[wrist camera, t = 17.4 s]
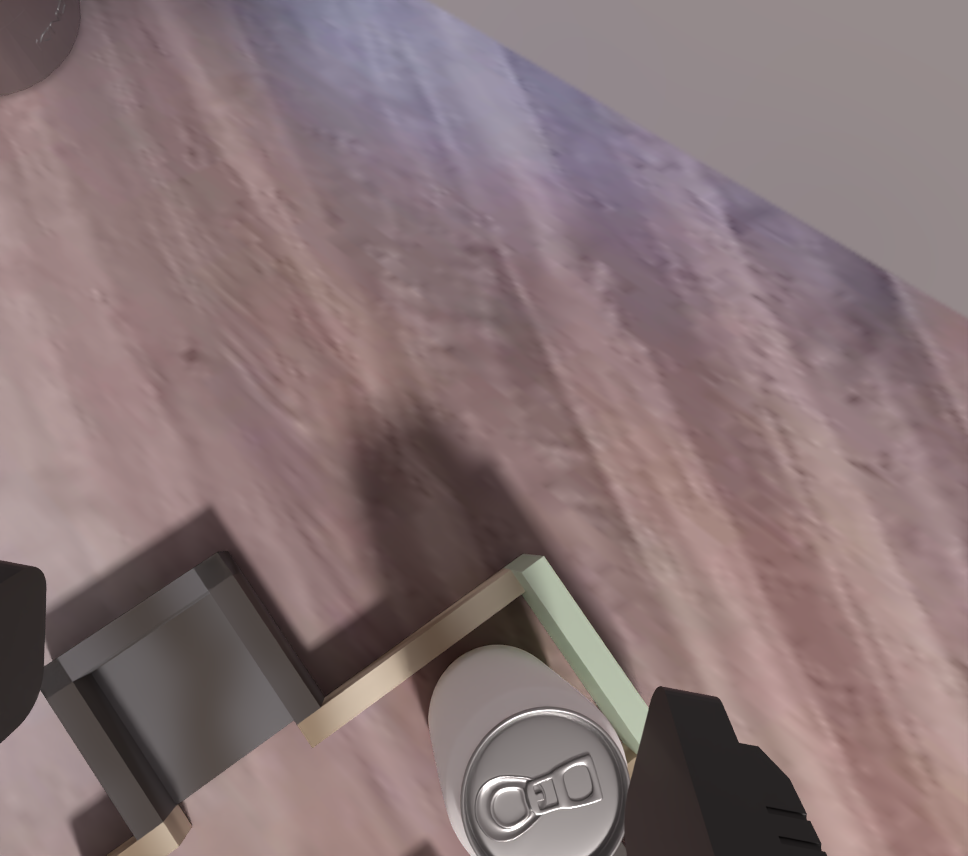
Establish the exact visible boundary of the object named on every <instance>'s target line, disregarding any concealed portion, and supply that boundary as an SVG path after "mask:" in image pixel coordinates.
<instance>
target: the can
mask: <svg viewBox="0 0 968 856" xmlns="http://www.w3.org/2000/svg"><path fill="white" fill-rule="evenodd" d="M428 723H429V731H430V737H431V742H432V747H433V752H434V757H435V762H436V766H437V771H438V776H439V780H440V785H441V789H442V794H443V798H444V802H445V806H446V810H447V813H448V816H449V819H450V822H451V825H452V827H453V829H454V831H455V833H456V835H457V837H458V838H459V840H460V842H461V843H462V845H463V846H464V848H465V849H466V850H467V851H468V853H469V854H470V855H471V856H613V855H614V853H615V852H616V850H617V848H618V847H619V845H620V843H621V841H622V839H623V837H624V819H625V806H626V799H627V793H628V788H629V784H630V776H629V772H628V767H627V761H626V757H625V753H624V750H623V747H622V744H621V742H620V739H619V737H618V735H617V733H616V732H615V730H614V728H613V727H612V725H611V724H610V722H609V721H608V719H607V718H606V717H605V716H604V714H603V713H602V712H601V711H600V710H599V709H598V708H597V707H596V706H595V705H594V704H593V703H592V702H591V701H590V700H588V699H587V698H586V697H585V696H584V695H583V694H581V693H580V692H579V691H578V690H577V689H575V688H574V687H573V686H572V685H570V684H569V683H568V682H567V681H566V680H564V679H563V678H562V677H561V676H559V675H558V674H557V673H556V672H554V671H553V670H552V669H551V668H549V667H548V666H547V665H546V664H544V663H543V662H542V661H540V660H539V659H538V658H536V657H535V656H533V655H532V654H530V653H528V652H526V651H524V650H522V649H519V648H516V647H513V646H508V645H487V646H482V647H478V648H476V649H473V650H471V651H469V652H467V653H465V654H463V655H462V656H460V657H459V658H457V659H456V660H455V661H454V662H453V663H452V664H450V666H449V667H448V668H447V669H446V670H445V671H444V673H443V674H442V675H441V677H440V679H439V680H438V682H437V684H436V686H435V689H434V691H433V694H432V697H431V701H430V706H429V714H428Z"/></svg>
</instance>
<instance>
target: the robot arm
mask: <svg viewBox="0 0 968 856" xmlns="http://www.w3.org/2000/svg"><path fill="white" fill-rule="evenodd" d="M79 22H80V7H79V0H0V96H5V95H9V94H12V93H15V92H18V91H22V90H25V89H27V88H29V87H31V86H33V85H34V84H36V83H38V82H40V81H42V80H43V79H45V78H46V77H47V76H48V75H50V74H51V73H52V72H53V71H54V70H55V69H57V68H58V67H59V66H60V64H61V63H62V62H63V60H64V59H65V58H66V56H67V55H68V54H69V52H70V51H71V48H72V46H73V44H74V42H75V39H76V37H77V34H78V28H79ZM45 615H46V580H45V576H44V574H43V572H42V571H41V570H40V569H39V568H37V567H33V566H28V565H22V564H17V563H12V562H7V561H1V560H0V743H1V742H2V741H3V740H5V739H6V738H7V737H8V736H9V735H10V734H11V733H12V732H13V731H14V730H15V729H16V728H18V726H19V725H20V724H21V723H22V722H23V721H24V720H25V718H26V717H27V716H28V714H29V713H30V711H31V709H32V708H33V706H34V704H35V702H36V699H37V697H38V694H39V692H40V689H41V685H42V680H43V672H44V644H45ZM806 815H807V814H806V811H805V809H804V807H803V805H802V803H801V801H800V799H799V797H798V795H797V793H796V791H795V789H794V787H793V785H792V783H791V781H790V779H789V778H788V777H787V776H786V775H785V774H784V773H783V772H782V771H781V770H780V768H779V767H778V766H777V765H776V764H775V763H774V762H773V761H772V760H771V759H770V758H769V757H768V756H767V755H766V754H765V753H764V752H763V751H762V750H761V749H760V748H759V747H758V746H752V745H747V744H742V743H739V742H738V740H737V737H736V735H735V732H734V730H733V728H732V725H731V723H730V721H729V718H728V716H727V713H726V711H725V709H724V706H723V704H722V702H721V700H720V699H719V698H718V697H715V696H709V695H704V694H699V693H693V692H688V691H683V690H677V689H672V688H667V687H662V686H659V687H658V688H657V689H656V690H655V692H654V694H653V696H652V699H651V702H650V705H649V709H648V713H647V717H646V721H645V725H644V729H643V733H642V737H641V741H640V745H639V749H638V753H637V756H636V760H635V764H634V768H633V772H632V776H631V780H630V784H629V788H628V793H627V799H626V806H625V819H624V836H625V847H626V853H627V856H827V854H826V852H822V851H821V842H820V840H819V838H818V836H817V834H816V832H815V830H814V828H813V826H812V824H811V822H810V821H807V819H806Z"/></svg>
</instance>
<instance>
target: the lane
mask: <svg viewBox="0 0 968 856" xmlns="http://www.w3.org/2000/svg"><path fill="white" fill-rule="evenodd" d="M530 555H531V554H530ZM524 592H525V590H524V588H523V587H522V586H521V584H520V583H519V581H518V580H517V578H516V577H515V575H514V574H513V572H512V571H511V570H510V569H506V568H503V569H501V570H500V571H498V572H497V573H496V574H494V575H493V576H492V577H490V578H489V579H487V580H486V581H485V582H483V583H482V584H480V585H479V586H478V587H476V588H475V589H474V590H472V591H471V592H469V593H468V594H467V595H465V596H464V597H463V598H461V599H460V600H458V601H457V602H456V603H454V604H453V605H451V606H450V607H449V608H447V609H446V610H445V611H443V612H442V613H440V614H439V615H438V616H436V617H435V618H434V619H432V620H431V621H429V622H428V623H427V624H425V625H424V626H422V627H421V628H420V629H418V630H417V631H416V632H414V633H413V634H411V635H410V636H409V637H407V638H406V639H405V640H403V641H402V642H400V643H399V644H398V645H396V646H395V647H393V648H392V649H391V650H389V651H388V652H387V653H385V654H384V655H382V656H381V657H380V658H378V659H377V660H376V661H374V662H373V663H371V664H370V665H369V666H367V667H366V668H364V669H363V670H362V671H360V672H359V673H358V674H356V675H355V676H353V677H352V678H351V679H349V680H348V681H347V682H345V683H344V684H342V685H341V686H340V687H338V688H337V689H335V690H334V691H333V692H331V693H330V694H329V695H327V696H326V697H324V695H323V694H322V692H321V691H320V689H319V688H318V686H317V685H316V683H315V682H314V680H313V679H312V677H311V676H310V674H309V673H308V671H307V670H306V668H305V667H304V665H303V664H302V662H301V661H300V659H299V658H298V656H297V655H296V653H295V652H294V650H293V649H292V647H291V646H290V644H289V643H288V641H287V640H286V638H285V637H284V635H283V634H282V632H281V631H280V629H279V628H278V626H277V625H276V623H275V622H274V620H273V619H272V617H271V615H270V614H269V612H268V611H267V609H266V608H265V606H264V605H263V603H262V602H261V600H260V599H259V597H258V596H257V594H256V593H255V591H254V590H253V588H252V587H251V585H250V584H249V582H248V581H247V579H246V578H245V576H244V575H243V573H242V572H241V570H240V569H239V567H238V566H237V564H236V563H235V561H234V560H233V558H232V557H231V555H230V554H229V552H228V551H225V552H217V553H215V554H214V555H212V556H211V557H209V558H208V559H206V560H205V561H203V562H202V563H200V564H199V565H197V566H196V567H194V568H193V569H191V570H190V571H188V572H187V573H185V574H184V575H182V576H180V577H179V578H177V579H176V580H174V581H173V582H171V583H170V584H168V585H167V586H165V587H164V588H162V589H161V590H159V591H158V592H156V593H155V594H153V595H152V596H150V597H149V598H147V599H146V600H144V601H143V602H141V603H140V604H138V605H137V606H135V607H134V608H132V609H131V610H129V611H128V612H126V613H124V614H123V615H121V616H120V617H118V618H117V619H115V620H114V621H112V622H111V623H109V624H108V625H106V626H105V627H103V628H102V629H100V630H99V631H97V632H96V633H94V634H93V635H91V636H90V637H88V638H87V639H85V640H84V641H82V642H81V643H79V644H78V645H76V646H75V647H73V648H72V649H70V650H69V651H67V652H65V653H64V654H62V655H61V656H59V657H58V658H56V659H55V660H53V661H52V662H50V663H49V664H47V665H46V666H44V672H43V680H42V685H41V689H40V690H41V692H42V693H43V695H44V696H45V698H46V700H47V701H48V703H49V704H50V706H51V707H52V709H53V710H54V712H55V714H56V715H57V717H58V718H59V720H60V721H61V723H62V724H63V726H64V728H65V729H66V731H67V732H68V734H69V735H70V737H71V738H72V740H73V742H74V743H75V745H76V746H77V748H78V749H79V751H80V752H81V754H82V756H83V757H84V759H85V760H86V762H87V763H88V765H89V766H90V768H91V770H92V771H93V773H94V774H95V776H96V777H97V779H98V780H99V782H100V784H101V785H102V787H103V788H104V790H105V791H106V793H107V794H108V796H109V798H110V799H111V801H112V802H113V804H114V805H115V807H116V808H117V810H118V812H119V813H120V815H121V816H122V818H123V819H124V821H125V822H126V824H127V826H128V827H129V829H130V830H131V832H132V833H133V835H134V836H132V837H131V838H130V839H128V840H127V841H126V842H124V843H123V844H121V845H120V846H119V847H117V848H116V849H115V850H113V851H112V852H110V853H109V854H108V855H106V856H167V855H168V854H169V853H171V852H172V851H174V850H175V849H176V848H178V847H179V846H180V844H181V843H182V841H183V840H184V838H185V837H186V835H187V834H188V832H189V831H190V829H191V828H192V825H191V824H190V822H189V820H188V819H187V817H186V816H185V814H184V813H183V811H182V810H181V808H180V807H179V805H178V804H179V803H180V802H182V801H183V800H185V799H186V798H187V797H189V796H190V795H191V794H193V793H194V792H196V791H197V790H198V789H200V788H201V787H202V786H204V785H205V784H207V783H208V782H209V781H211V780H212V779H214V778H215V777H216V776H218V775H219V774H220V773H222V772H223V771H225V770H226V769H227V768H229V767H230V766H231V765H233V764H234V763H236V762H237V761H238V760H240V759H241V758H242V757H244V756H245V755H247V754H248V753H249V752H251V751H252V750H254V749H255V748H256V747H258V746H259V745H260V744H262V743H263V742H265V741H266V740H267V739H269V738H270V737H271V736H273V735H274V734H276V733H277V732H278V731H280V730H281V729H283V728H284V727H285V726H287V725H288V724H289V723H291V722H292V721H295V723H296V724H297V726H298V727H299V729H300V730H301V732H302V733H303V735H304V736H305V738H306V739H307V741H308V742H309V744H310V745H311V747H312V748H313V747H315V746H316V745H317V744H319V743H320V742H322V741H323V740H324V739H326V738H327V737H328V736H330V735H331V734H332V733H334V732H335V731H336V730H338V729H339V728H341V727H342V726H343V725H345V724H346V723H347V722H349V721H350V720H351V719H353V718H354V717H356V716H357V715H358V714H360V713H361V712H362V711H364V710H365V709H366V708H368V707H369V706H370V705H372V704H373V703H375V702H376V701H377V700H379V699H380V698H381V697H383V696H384V695H385V694H387V693H388V692H389V691H391V690H392V689H394V688H395V687H396V686H398V685H399V684H400V683H402V682H403V681H404V680H406V679H407V678H408V677H410V676H411V675H413V674H414V673H415V672H417V671H418V670H419V669H421V668H422V667H423V666H425V665H426V664H427V663H429V662H430V661H432V660H433V659H434V658H436V657H437V656H438V655H440V654H441V653H442V652H444V651H445V650H446V649H448V648H449V647H451V646H452V645H453V644H455V643H456V642H457V641H459V640H460V639H461V638H463V637H464V636H465V635H467V634H468V633H470V632H471V631H472V630H474V629H475V628H476V627H478V626H479V625H480V624H482V623H483V622H484V621H486V620H487V619H489V618H490V617H491V616H493V615H494V614H495V613H497V612H498V611H499V610H501V609H502V608H503V607H505V606H506V605H508V604H509V603H510V602H512V601H513V600H514V599H516V598H517V597H518V596H520V595H521V594H523V593H524ZM622 747H623V750H624V753H625V757H626V761H627V767H628V772H629V776H630V780H631V776H632V772H633V768H634V764H635V760H636V756H637V754H636V753H634V752H633V751H632V750H631V749H630V748H629V747H627V746H626V745H625V744H624V743H622ZM613 856H627V853H626V848H625V846H624V845H623V843H622V842H621V843H620V845H619V847H618V848H617V850H616V852H615V853H614V855H613Z"/></svg>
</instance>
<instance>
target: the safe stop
mask: <svg viewBox="0 0 968 856" xmlns="http://www.w3.org/2000/svg"><path fill="white" fill-rule="evenodd" d="M504 568H506V569H510V570H511V571H512V572H513V574H514V575H515V577H516V578H517V580H518V581H519V583H520V584H521V586H522V587H523V588H524V590H525V592H524V593H523V594H522V596H523V597H524V599H525V600H526V602H527V603H528V605H529V606H530V607H531V609H532V610H533V612H534V613H535V615H536V616H537V618H538V619H539V621H540V622H541V624H542V625H543V626H544V628H545V629H546V631H547V632H548V634H549V635H550V637H551V638H552V640H553V641H554V643H555V644H556V645H557V647H558V648H559V650H560V651H561V653H562V654H563V656H564V657H565V659H566V660H567V662H568V663H569V664H570V666H571V667H572V669H573V670H574V672H575V673H576V675H577V676H578V678H579V679H580V681H581V682H582V683H583V685H584V686H585V688H586V689H587V691H588V692H589V694H590V695H591V697H592V698H593V700H594V701H595V702H596V704H597V705H598V707H599V708H600V710H601V711H602V713H603V714H604V716H605V717H606V718H607V719H608V721H609V722H610V724H611V725H612V727H613V728H614V730H615V732H616V733H617V735H618V736H619V738H620V739H621V740H622V742H623V743H624V744H625V745H626V746H627V747H629V748H630V749H631V750H632V751H633V752H634V753H636V754H637V753H638V749H639V745H640V741H641V737H642V733H643V729H644V725H645V721H646V717H647V713H648V709H649V708H648V707H647V705H646V704H645V702H644V701H643V699H642V698H641V697H640V695H639V694H638V692H637V691H636V689H635V688H634V686H633V685H632V683H631V682H630V681H629V679H628V678H627V676H626V675H625V673H624V672H623V670H622V669H621V667H620V666H619V665H618V663H617V662H616V660H615V659H614V657H613V656H612V654H611V653H610V651H609V650H608V649H607V647H606V646H605V644H604V643H603V641H602V640H601V638H600V637H599V635H598V634H597V633H596V631H595V630H594V628H593V627H592V625H591V624H590V622H589V621H588V619H587V618H586V617H585V615H584V614H583V612H582V611H581V609H580V608H579V606H578V605H577V604H576V602H575V601H574V599H573V598H572V596H571V595H570V593H569V592H568V590H567V589H566V588H565V586H564V585H563V583H562V582H561V580H560V579H559V577H558V576H557V574H556V573H555V572H554V570H553V569H552V567H551V566H550V564H549V563H548V561H547V560H546V558H545V557H544V556H539V555H530V554H522V555H521V556H519V557H518V558H516V559H515V560H514V561H512V562H511V563H509V564H508V565H507V566H505V567H504Z"/></svg>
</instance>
